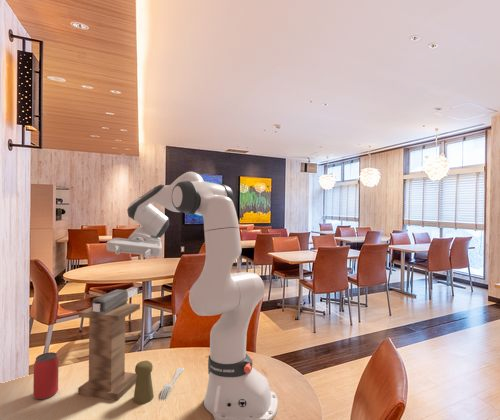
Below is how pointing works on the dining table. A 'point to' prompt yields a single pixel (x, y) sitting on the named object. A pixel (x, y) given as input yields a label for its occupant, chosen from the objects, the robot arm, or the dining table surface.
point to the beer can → (45, 375)
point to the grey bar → (131, 292)
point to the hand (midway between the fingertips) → (130, 253)
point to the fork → (168, 386)
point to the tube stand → (108, 347)
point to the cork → (143, 383)
